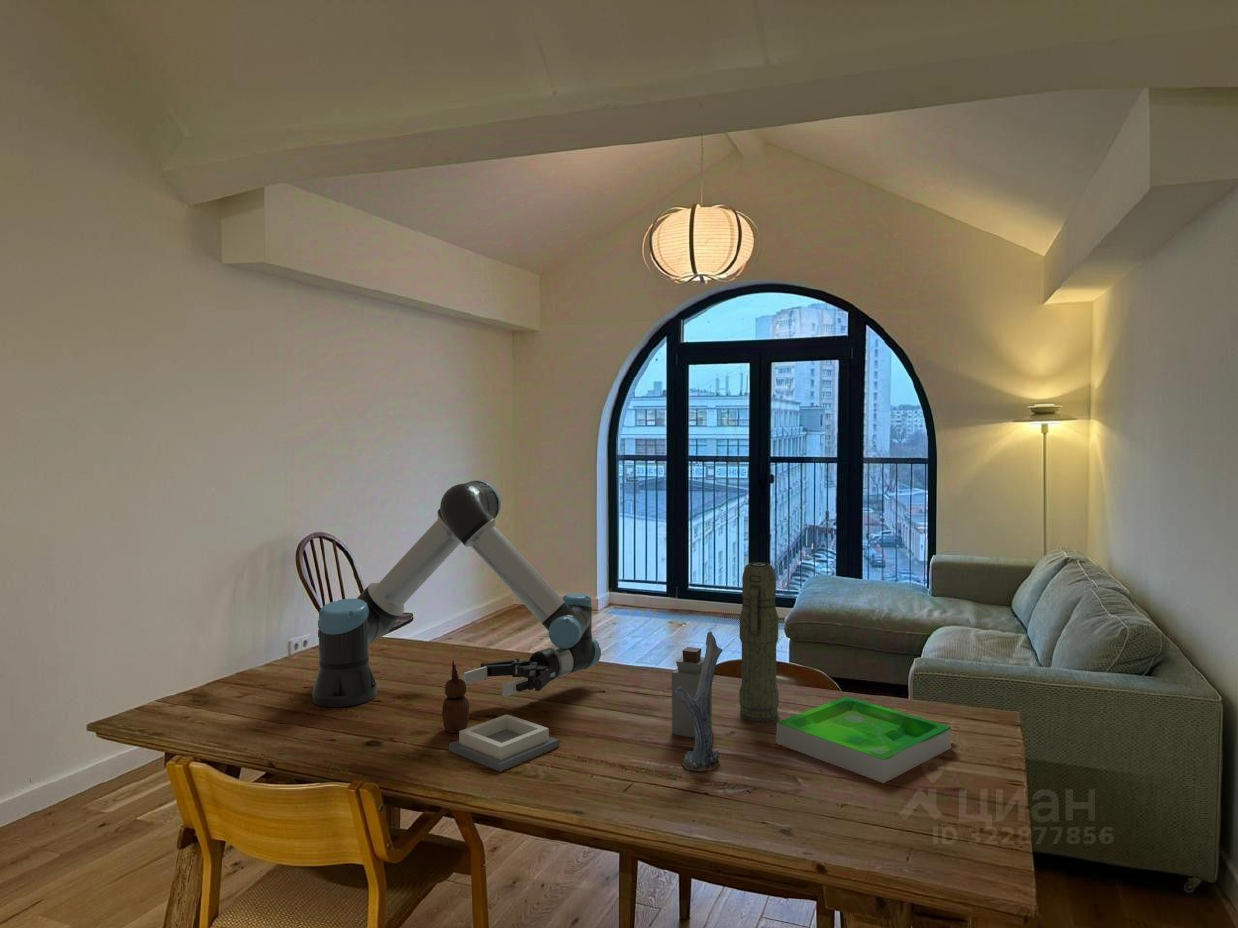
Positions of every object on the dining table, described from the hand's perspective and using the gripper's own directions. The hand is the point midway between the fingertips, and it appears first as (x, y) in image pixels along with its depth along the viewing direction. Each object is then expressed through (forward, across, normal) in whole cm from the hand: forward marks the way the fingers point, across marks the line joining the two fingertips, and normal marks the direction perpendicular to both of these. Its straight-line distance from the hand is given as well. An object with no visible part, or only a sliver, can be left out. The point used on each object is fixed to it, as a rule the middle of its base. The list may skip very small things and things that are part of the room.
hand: (483, 684), depth 180 cm
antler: (-13, -51, -9) cm, 53 cm away
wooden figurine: (+8, 0, -9) cm, 11 cm away
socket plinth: (+8, -16, -8) cm, 19 cm away
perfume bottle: (-25, -40, -9) cm, 48 cm away
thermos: (-43, -46, -9) cm, 64 cm away
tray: (-41, -72, -9) cm, 83 cm away
